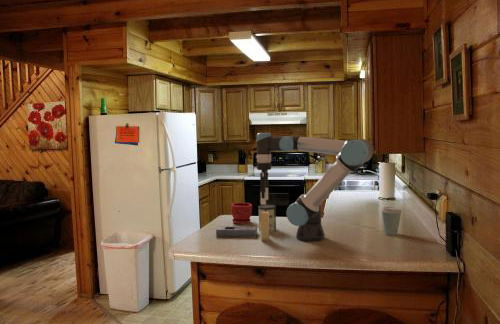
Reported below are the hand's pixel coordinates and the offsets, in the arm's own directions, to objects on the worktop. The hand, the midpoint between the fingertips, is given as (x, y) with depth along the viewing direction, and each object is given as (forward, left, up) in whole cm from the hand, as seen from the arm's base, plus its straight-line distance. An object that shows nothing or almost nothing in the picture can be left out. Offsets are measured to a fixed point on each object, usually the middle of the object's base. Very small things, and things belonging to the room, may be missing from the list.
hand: (264, 201), depth 225 cm
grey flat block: (+17, -9, -21) cm, 28 cm away
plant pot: (+19, -40, -21) cm, 49 cm away
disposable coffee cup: (-68, -15, -21) cm, 73 cm away
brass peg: (0, 0, -21) cm, 21 cm away
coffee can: (+1, -22, -21) cm, 31 cm away
